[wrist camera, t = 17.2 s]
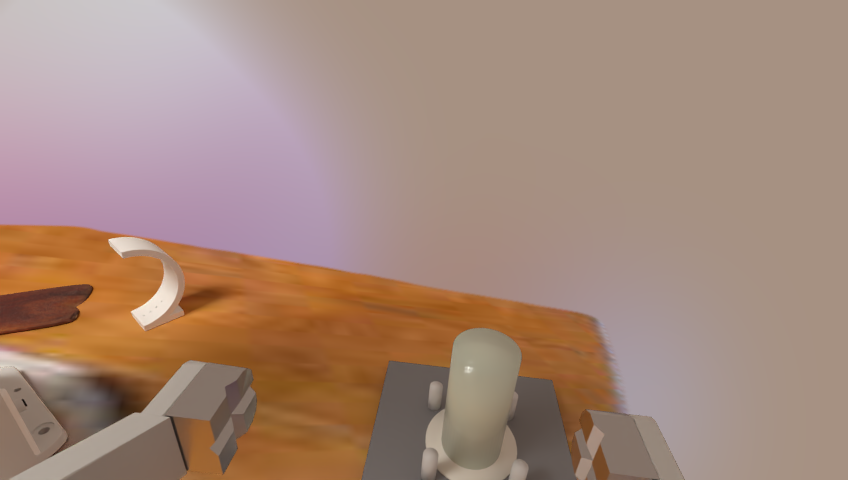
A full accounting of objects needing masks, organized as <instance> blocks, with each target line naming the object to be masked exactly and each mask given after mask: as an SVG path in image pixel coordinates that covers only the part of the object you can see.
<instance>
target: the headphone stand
mask: <svg viewBox="0 0 848 480" xmlns="http://www.w3.org/2000/svg"><path fill="white" fill-rule="evenodd" d="M109 244H110V246H111V247H112V248H113V249H114V250H115V251H116V252H117V253H118V254H119V255H120V256H121V257H122V258H127V257H133V256H150V257H155V258H158V259H160V260H161V261H162V263H163V267H164V278H163V282H162V284H161V287H160V288H159V290H158V292H157V293H156V294H155V295H154V296H153V298H151V299H150V300H149V301H148V302H147V303H145V304H144V305H142V306H141V307H139V308H137V309H135V310H133V311H131V313H132V316H133V317H134V319H135V320H136V321H137V322H138V323H139V324H140V326H141V327H142V328H143V329H144V330H145V331H147V330H150V329H152V328H154V327H157V326H159V325H161V324H164V323H166V322H169V321H171V320H173V319H176V318H178V317H181V316H183V315H184V310H183V309H182V308H181V307H180V306H179V305H178V304H179V302H180V300H181V298H182V295H183V292H184V286H185V280H184V275H183V272H182V270H181V268H180V266H179V265H178V264H177V262H176V261H174V260H173V259H172V258H171V257H170V256H169V255H167V254H166V253H165V252H164V251H163V250H162V249H160V248H159V247H158V246H156V245H155V244H153V243H151V242H149V241H147V240H144V239H140V238H133V237H120V238H113V239H109Z"/></svg>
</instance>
